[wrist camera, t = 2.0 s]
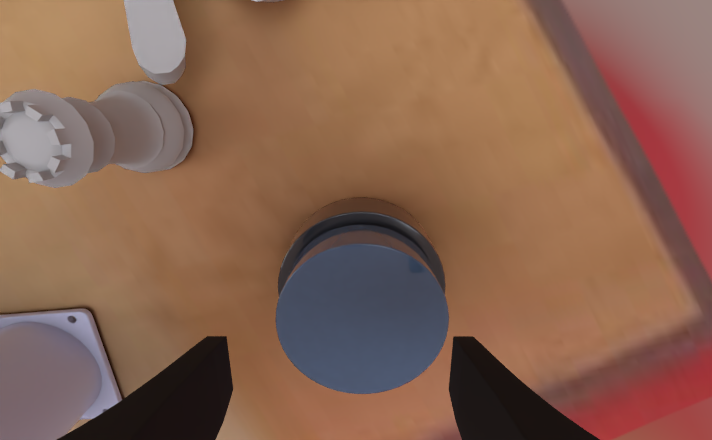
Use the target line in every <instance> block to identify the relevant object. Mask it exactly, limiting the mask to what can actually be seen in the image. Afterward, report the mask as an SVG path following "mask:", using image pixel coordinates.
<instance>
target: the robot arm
mask: <svg viewBox="0 0 712 440" xmlns="http://www.w3.org/2000/svg"><path fill="white" fill-rule="evenodd" d="M73 316H74V317H75V318H76V319H74V318H73ZM232 391H233V384H232V376H231V368H230V361H229V353H228V345H227V337H226V336H207V337H206V338H204V339H203V340H202V341H200V342H199V343H198V344H196V345H195V346H194V347H192V348H191V349H190V350H189V351H187V352H186V353H185V354H184V355H182V356H181V357H180V358H178V359H177V360H176V361H175V362H173V363H172V364H171V365H169V366H168V367H167V368H166V369H164V370H163V371H162V372H160V373H159V374H158V375H156V376H155V377H154V378H152V379H151V380H150V381H148V382H147V383H145V384H144V385H143V386H141V387H140V388H138V389H137V390H136V391H134V392H133V393H131V394H130V395H129V396H127V397H126V398H124V399H123V400H122V398H121V395H120V392H119V389H118V386H117V384H116V381H115V378H114V375H113V372H112V370H111V367H110V364H109V361H108V358H107V355H106V353H105V350H104V347H103V344H102V341H101V339H100V336H99V333H98V330H97V327H96V324H95V322H94V319H93V316H92V314H91V312H90V311H89V310H87V309H82V308H81V309H68V310H56V311H43V312H31V313H18V314H6V315H0V440H215V439H216V437H217V435H218V432H219V430H220V428H221V426H222V423H223V421H224V418H225V415H226V411H227V408H228V405H229V402H230V398H231V395H232ZM449 393H450V397H451V402H452V407H453V411H454V415H455V419H456V423H457V426H458V429H459V432H460V435H461V438H462V440H600V439H598V438H596V437H595V436H593V435H592V434H590V433H589V432H587V431H586V430H584V429H583V428H581V427H580V426H579V425H577V424H576V423H574V422H573V421H571V420H570V419H569V418H567V417H566V416H564V415H563V414H562V413H560V412H559V411H558V410H556V409H555V408H554V407H552V406H551V405H550V404H548V403H547V402H546V401H545V400H543V399H542V398H541V397H540V396H538V395H537V394H536V393H535V392H533V391H532V390H531V389H530V388H529V387H527V386H526V385H525V384H524V383H523V382H522V381H520V380H519V379H518V378H517V377H516V376H515V375H514V374H513V373H511V372H510V371H509V370H508V369H507V368H506V367H505V366H504V365H503V364H502V363H501V362H499V361H498V360H497V359H496V358H495V357H494V356H493V355H492V354H491V353H490V352H489V351H488V350H487V349H486V348H485V347H484V346H483V345H482V344H481V343H479V342H478V341H477V340H476V339H475V338H474V337H454V338H453V349H452V360H451V371H450V382H449ZM80 419H92V420H90V421H88V422H87V423H85V424H84V425H82V426H80V427H78V428H77V429H75V430H73V431H71V432H70V433H68V432H69V430H70V429H71V428H72V427H73V426H74V425H75V424H76V422H77V421H78V420H80ZM67 433H68V434H67Z"/></svg>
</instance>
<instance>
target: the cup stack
mask: <svg viewBox="0 0 712 440" xmlns="http://www.w3.org/2000/svg"><path fill="white" fill-rule="evenodd" d="M278 293H279V299H278V303H277V308H276V329H277V333H278V337H279V341H280V343H281V345H282V348H283V350H284V351H285V353H286V355H287V357H288V358H289V359H290V361H291V362H292V363H293V364H294V366H295V367H297V368H298V369H299V370H300V371H301V372H302V373H303V374H304V375H306V376H307V377H308V378H310V379H311V380H313V381H315V382H316V383H318V384H320V385H323V386H325V387H327V388H330V389H333V390H336V391H341V392H346V393H354V394H371V393H379V392H383V391H388V390H391V389H394V388H397V387H400V386H402V385H404V384H406V383H408V382H410V381H411V380H413V379H414V378H416V377H418V376H419V375H420V374H421V373H422V372H424V371H425V370H426V369H427V368H428V367H429V366H430V365H431V364H432V363H433V361H434V360H435V358H436V357H437V356H438V354H439V352H440V350H441V349H442V347H443V344H444V341H445V339H446V336H447V331H448V324H449V313H448V305H447V301H446V297H445V275H444V271H443V267H442V264H441V261H440V259H439V256H438V254H437V252H436V250H435V248H434V247H433V245H432V243H431V241H430V239H429V237H428V235H427V234H426V232H425V230H424V229H423V227H422V226H421V225H420V224H419V222H418V221H417V220H416V219H415V218H414V217H413V216H412V215H410V214H409V213H408V212H406V211H405V210H403V209H402V208H400V207H398V206H396V205H394V204H392V203H389V202H386V201H383V200H379V199H374V198H350V199H344V200H340V201H337V202H334V203H331V204H329V205H327V206H325V207H323V208H321V209H320V210H318V211H316V212H315V213H314V214H313V215H311V216H310V217H309V218H308V219H307V220H306V221H305V222H304V223H303V224H302V226H301V227H300V228H299V230H298V231H297V233H296V235H295V237H294V238H293V240H292V242H291V245H290V247H289V249H288V251H287V253H286V255H285V257H284V259H283V262H282V265H281V268H280V273H279V278H278Z"/></svg>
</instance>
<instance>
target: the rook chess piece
mask: <svg viewBox="0 0 712 440" xmlns="http://www.w3.org/2000/svg"><path fill="white" fill-rule="evenodd" d="M192 139H193V126H192V123H191V119H190V116H189V112H188V111H187V109H186V108H185V106H184V105H183V104H182V102H181V101H180V99H179V98H178V97H177V96H176V95H175V94H173V93H172V92H170V91H169V90H168V89H166V88H165V87H163V86H162V85H159V84H155V83H151V82H147V81H139V82H134V81H132V82H126V83H120V84H115V85H113V86H111V87H110V88H109V89H107V90H106V91H105V92H103V93H102V94H101V95H99V97H98V99H97V100H95V101H94V102H89V103H88V102H87V101H85V100H81V99H76V98H72V97H67V98H60V97H58V96H57V95H55V94H53V93H49V92H45V91H40V90H36V89H31V90H25V91H20V92H15V93H14V94H13V95H11V96H10V97H9V98H8V99H6V100H5V101H4V102H2V103H0V156H1V157H2V158H3V159H4V160H5V162H6V163H7V164H3V166H2V167H1V168H0V172H2V173H3V174H5V175H7V176H9V177H10V178H12V179H18V178H22V177H26V178H28V180H29V183H32V182H34V183H36V184H40V185H45V186H49V187H53V188H58V187H64V186H70V185H73V184H75V183H76V182H78V181H79V180H80V179H82V178H83V177H85V176H86V174H87V173H91V172H97V171H99V170H100V169H102V168H103V167H105V166H106V165H108V164H116V165H119V166H121V167H123V168H124V169H128V170H133V171H137V172H142V173H149V172H155V171H162V170H166V169H171V168H173V167H174V166H176V165H177V164H179V163H180V162H182V161H183V160H184V159H185V157H186V155H187V154H188V152H189V150H190V148H191V147H192Z"/></svg>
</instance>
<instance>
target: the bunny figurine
mask: <svg viewBox="0 0 712 440" xmlns="http://www.w3.org/2000/svg"><path fill="white" fill-rule="evenodd" d="M253 1H256V2H278V1H283V0H253ZM124 4H125V10H126V15H127V21H128V26H129V32H130V37H131V43H132V48H133V51H134V53H135V56H136V58H137V61H138V64H139V66H140V67H141V68H142V70H143V71H144V72H145V73H146V75H147V76H148V77H149V78H151V79H152V80H154V81H156V82H157V83H159V84H160V85H164V84H171V83H175V82H176V81H177V80H178V79H179V78H180V77H181V76H182V74H183V72H184V70H185V68H186V61H185V47H186V38H185V35H184V32H183V29H182V26H181V23H180V20H179V17H178V14H177V11H176V8H175V5H174V2H173V0H124Z"/></svg>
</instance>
